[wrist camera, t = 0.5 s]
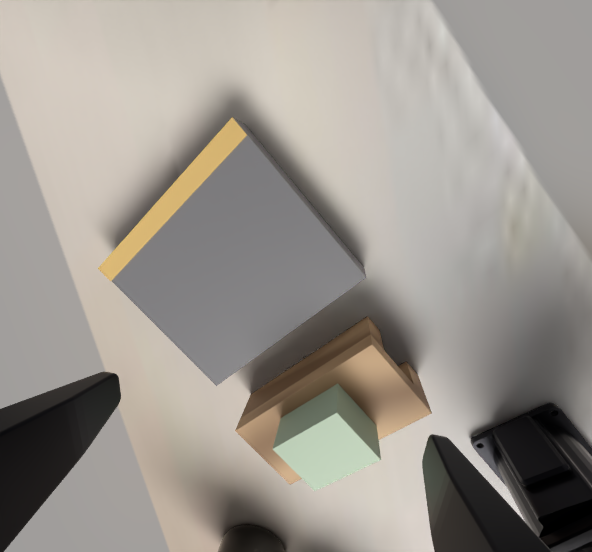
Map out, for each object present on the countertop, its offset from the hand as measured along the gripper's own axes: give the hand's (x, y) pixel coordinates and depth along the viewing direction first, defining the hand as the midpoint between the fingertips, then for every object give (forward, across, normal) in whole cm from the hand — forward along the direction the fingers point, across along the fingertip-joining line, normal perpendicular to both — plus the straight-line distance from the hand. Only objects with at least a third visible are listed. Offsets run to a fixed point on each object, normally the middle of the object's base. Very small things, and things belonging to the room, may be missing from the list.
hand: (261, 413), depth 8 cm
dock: (+13, +6, 0) cm, 14 cm away
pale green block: (+10, -2, +9) cm, 13 cm away
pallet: (+14, -2, +9) cm, 17 cm away
